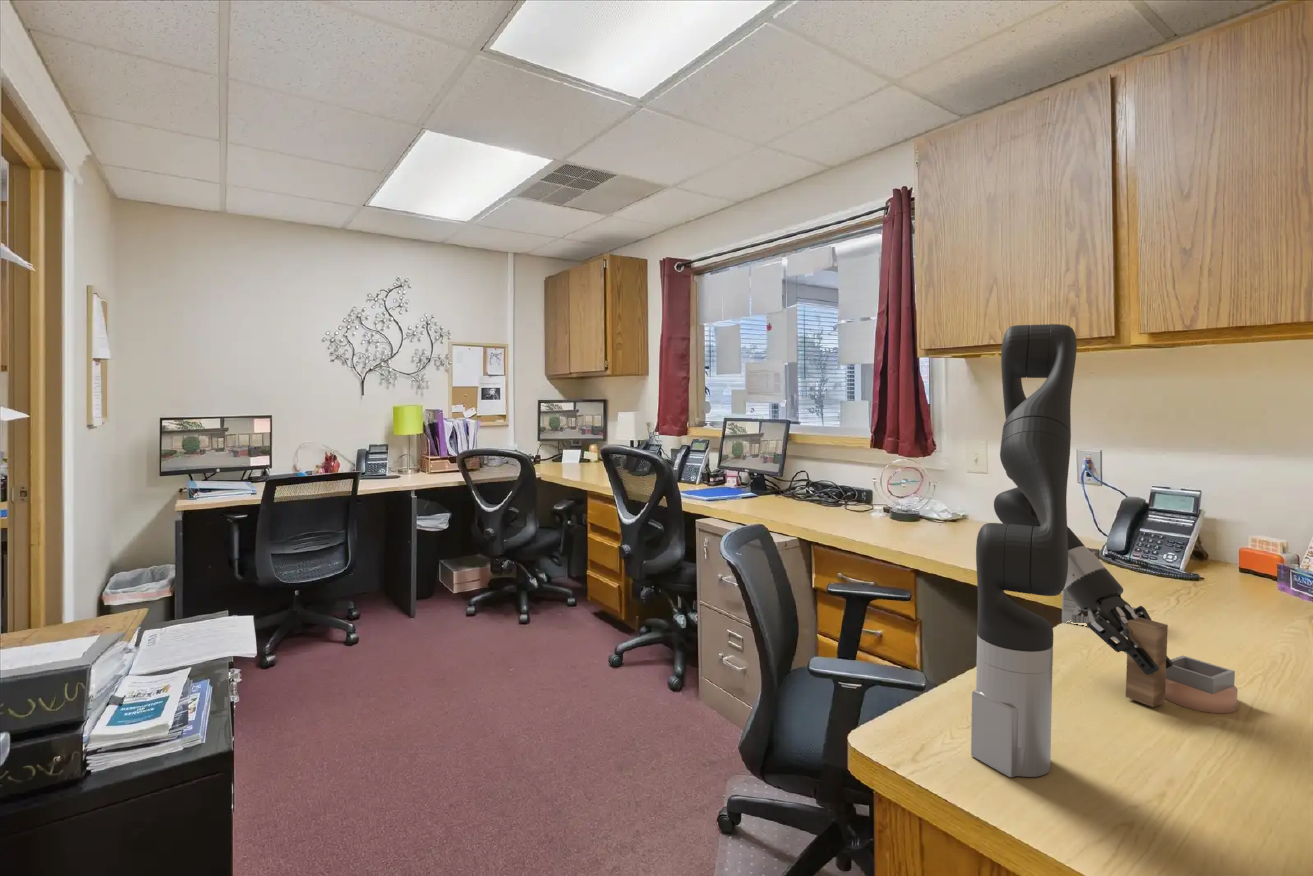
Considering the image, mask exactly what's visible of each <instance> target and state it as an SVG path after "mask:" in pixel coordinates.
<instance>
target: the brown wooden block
mask: <svg viewBox="0 0 1313 876" xmlns="http://www.w3.org/2000/svg"><path fill="white" fill-rule="evenodd" d="M1128 626H1129V627H1130V628H1131V629H1132V631H1133V636H1134V637H1135V639H1136V640H1137V641H1138V642H1139V644H1140V646H1141V647H1140V648H1143V649H1144V650H1145V652H1146V653H1147V654H1148V655H1149V656H1150V658H1151V659H1152V660H1153V661H1154V662H1155V663H1156V664H1157V666H1158V667H1159V670H1158V671H1156V672H1154V673H1152V674H1149V675H1147V674H1145V673H1144V672H1143V671H1142V669H1141V668H1140V667H1139V666H1138V665H1137V663H1136V662H1135V661H1134V660H1133V658H1132V657H1131V656H1130V655H1129V654H1126V672H1125V673H1126V674H1125V676H1126V677H1125V679H1126V681H1125V698H1128V699H1131V700H1133V701H1136V702H1138V703H1141V704H1143V705H1146V706H1149V707H1152V708H1154V707H1157V706H1159V705H1160V706H1161V705H1162V704H1165V703H1166V698H1165V688H1166V659H1167V657H1168V655H1167V653H1168V651H1167V650H1168V632H1169V631H1168V630H1169V629H1168V628H1169V625H1168V624H1167V623H1162V622H1158V621H1154V620H1152V619H1151V620H1148V619H1144V618H1141V617H1140V618H1136V619H1132V620H1129V621H1128Z"/></svg>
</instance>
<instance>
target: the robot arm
mask: <svg viewBox="0 0 1313 876" xmlns="http://www.w3.org/2000/svg"><path fill="white" fill-rule="evenodd" d="M1077 345H1078V342H1077V335H1076V332H1075V331H1074V329H1073V327H1072V326H1070V325H1068V324H1062V323H1061V324H1059V323H1058V324H1057V323H1055V324H1054V323H1052V324H1051V323H1050V324H1018V325H1011V326H1010V327H1007V329H1006V331H1005V333H1004V336H1003V339H1002V344H1001V356H1000V358H1001V359H1000V360H1001V361H1000V363H1001V365H1000V366H1001V379H1002V380H1001V381H1002V395H1003V407H1004V415H1005V421H1004V423H1003V426H1002V434H1001V441H1000V452H999V458H1000V462H1001V465H1002V467H1003V469H1004V470H1005V474H1006V476H1007V477H1008V478H1009V479H1010V480H1012V482H1013V483H1014V484H1015V486H1016V487H1013V488H1011V489H1008V490H1005V491H1002V492H999V493H998V494H997V495H996V496H995V497H994V500H993V509H994V513H995V515H996V516H997V518H998V519H999V521H1000V523H999V522H986V523H985V524H983V525H982V526H981V527H980V529H979V531H978V534H977V537H976V545H975V546H976V547H975V556H976V557H975V562H976V564H975V565H976V567H975V568H976V580H977V581H976V582H977V584H976V585H977V624H976V625H977V626H976V627H977V629H976V675H975V676H976V677H975V679H976V680H975V682H976V684H975V685H976V686H975V687H976V688H975V689H974V690H972V691H971V728H970V729H971V733H970V735H971V736H970V737H971V738H970V743H971V744H970V745H971V746H970V756H971V757H973V758H975V759H976V760H978V761H980V762H982V763H983V764H985V765H987V766H989V767H991V768H992V769H995V770H996V771H998V772H999V773H1001V774H1003V775H1005V776H1007V777H1008V778H1014V777H1024V778H1025V777H1026V778H1033V777H1034V778H1037V777H1042V776H1044V775H1047V773H1049V772H1050V770H1051V757H1052V755H1051V754H1052V753H1051V752H1052V751H1051V749H1052V713H1053V710H1052V706H1053V705H1052V704H1053V703H1052V702H1053V664H1054V662H1053V661H1054V628H1053V626H1052V625H1051V623H1050V622H1049V621H1048V620H1047V619H1046V618H1044V617H1042V616H1041V615H1039V614H1037V613H1034V612H1032V611H1030V610H1028V609H1026V608H1025V607H1023V606H1021V605H1019V604H1017V602H1015V601H1013V600H1012V599H1011V598H1010V597H1009V596H1007V594H1006V593H1005V591H1006V592H1012V593H1013V592H1014V593H1020V594H1028V595H1035V596H1044V597H1057V596H1059V595H1060V594H1061V593H1062V591H1063V589H1064V588H1065V590H1066V591H1067V592H1068V594H1069V595H1070V596H1071V597H1072V599H1073V600H1074V601H1075V602H1076V604H1077V605H1078V606H1079V607H1080V609H1081V610H1083V611H1091V613H1092V616H1093V617H1094V619H1093V620H1092V621H1090V622H1088V623H1087V626H1088V627H1087V628H1088V629H1090V630H1091V631H1092V632H1094V634H1096V636H1098V637H1099V638H1100V639H1102V641H1103V642H1105V643H1106V644H1107V645H1108V646H1109V647H1111V649H1113V651H1115V652H1116V653H1120V652H1123V653H1124V654H1125V655H1127V654H1129V655H1130V656H1131V657H1132V658H1133V660H1134V661H1135V662H1136V663H1137V665H1138V666H1139V667H1140V668H1141V669H1142V671H1143V672H1144V673H1145V674H1147V675H1149V674H1152V673H1154V672H1156V671H1158V670H1159V667H1158V666H1157V664H1156V663H1155V662H1154V661H1153V660H1152V659H1151V658H1150V656H1149V655H1148V654H1147V653H1146V652H1145V650H1144V649H1143V648H1140V647H1141V646H1140V644H1139V642H1138V641H1137V640H1136V639H1135V637H1134V636H1133V631H1132V629H1131V628H1130V627H1129V626H1128V621H1129V620H1132V619H1136V618H1140V617H1141V618H1144V619H1148V620H1152V618H1151V616H1150V615H1149V613H1148V611H1147V609H1146V607H1143V605H1139V606H1137V607H1133V606H1131V604H1129V602H1127V601H1126V600H1125V599H1123V597H1122V596H1121V595H1122V594H1123V593H1124V587H1123V586H1122V585H1121V584H1120V583H1119V581H1117V579H1116V578H1115V577H1114V576H1113V574H1111V572H1110V571H1109V570H1108V569H1107V567H1106V566H1105V565H1104V564H1103V563H1102V562H1101V561H1100V559H1099V560H1098V558H1097V557H1096V556H1095V555H1094V554H1093V553H1092V552H1090V551H1089V550H1088V549H1087V548H1088V547H1087V546H1085V544H1084V543H1083V542H1082V541H1081V540H1080V539H1079V537H1078V536H1077V535H1076V534H1075V533H1074V532H1073V530H1072V529H1071V528H1070V527H1069V525H1068V518H1067V517H1068V514H1067V513H1068V512H1067V511H1068V510H1067V509H1068V508H1067V496H1068V494H1067V491H1068V478H1069V467H1070V457H1071V438H1072V433H1071V432H1072V431H1071V430H1072V428H1071V425H1072V424H1071V416H1072V415H1071V403H1072V399H1071V398H1072V390H1073V382H1074V377H1075V376H1074V375H1075V366H1076V360H1077V349H1078V348H1077V347H1078V346H1077ZM1022 378H1023V379H1024V378H1025V379H1031V378H1032V379H1036V378H1037V379H1046V380H1045V381H1044V382H1043V383H1042V385H1041V386H1040V387H1039V388H1038V389H1036V391H1034V392H1032V394H1031V395H1029V396H1028V397H1026V394H1025V392H1024V389H1023V384H1022V383H1023V381H1022ZM1172 665H1173V663H1172V661H1171V659H1170V657H1169V656H1167V659H1166V669H1167V668H1169V667H1171V666H1172Z"/></svg>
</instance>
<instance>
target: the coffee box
mask: <svg viewBox="0 0 1313 876" xmlns="http://www.w3.org/2000/svg"><path fill="white" fill-rule="evenodd" d="M1086 548H1087V549H1088V550H1089V551H1090V552H1092V553H1093V554H1094V555H1095V556H1096V557H1097V558H1098V560H1099V561H1100V549H1099V548H1092V547H1091V548H1090V547H1086ZM1061 593H1062V595H1061V596H1062V597H1061V601H1062V602H1061V623H1063V624H1069V623H1071V622H1073V623H1086V624H1087V623H1088V622H1090V621H1092V620H1093V619H1094V617H1093V616H1092V613H1091V611H1083V610H1081V609H1080V607H1079V606H1078V605H1077V604H1076V602H1075V601H1074V600H1073V599H1072V597H1071V596H1070V595H1069V594H1068V592H1067V591H1066V590H1065V588H1064V589H1063V591H1062V592H1061ZM1070 620H1071V621H1070ZM1067 621H1070V622H1068V623H1066V622H1067Z"/></svg>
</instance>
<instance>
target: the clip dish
mask: <svg viewBox="0 0 1313 876" xmlns="http://www.w3.org/2000/svg"><path fill="white" fill-rule="evenodd" d="M1170 660H1171V661H1172V663H1173V665H1172V666H1171V667H1169V668H1167V669H1166V688H1165V700H1167V701H1169V700H1170V702H1171V701H1172V703H1173V704H1176V705H1179V706H1181V707H1184V708H1188V709H1191V710H1195V711H1199V712H1204V713H1212V714H1231V713H1234V712H1236V711H1237V709H1238V693H1239V692H1238V688H1237V686H1235V680H1236V679H1235V677H1236V671H1235V670H1232V669H1230V668H1226V667H1223V666H1219V665H1215V664H1212V663H1209V662H1206V661H1203V660H1200V659H1197V658H1193V657H1189V656H1186V655H1180V656H1177V657H1174V658H1171V659H1170Z"/></svg>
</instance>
